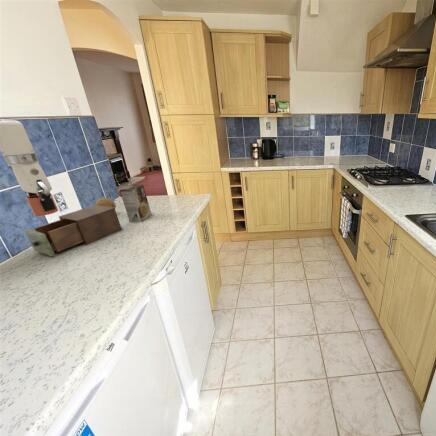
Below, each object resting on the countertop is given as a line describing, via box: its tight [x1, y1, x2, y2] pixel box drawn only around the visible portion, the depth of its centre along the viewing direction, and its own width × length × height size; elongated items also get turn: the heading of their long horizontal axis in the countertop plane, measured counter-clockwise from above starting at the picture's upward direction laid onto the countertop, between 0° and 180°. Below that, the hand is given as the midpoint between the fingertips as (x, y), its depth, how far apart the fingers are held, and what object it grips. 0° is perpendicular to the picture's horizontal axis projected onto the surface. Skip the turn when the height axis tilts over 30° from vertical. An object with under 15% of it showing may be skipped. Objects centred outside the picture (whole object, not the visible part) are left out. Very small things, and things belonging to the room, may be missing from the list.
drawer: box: [23, 219, 84, 257], centre depth 94 cm, size 15×11×9 cm
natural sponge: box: [94, 196, 117, 209], centre depth 124 cm, size 9×9×10 cm
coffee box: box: [118, 184, 152, 222], centre depth 119 cm, size 9×6×16 cm
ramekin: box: [25, 192, 59, 217], centre depth 88 cm, size 7×7×6 cm
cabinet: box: [58, 204, 123, 245], centre depth 104 cm, size 15×13×11 cm
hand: (44, 208), depth 89 cm, fingers closed on ramekin, 6 cm apart
